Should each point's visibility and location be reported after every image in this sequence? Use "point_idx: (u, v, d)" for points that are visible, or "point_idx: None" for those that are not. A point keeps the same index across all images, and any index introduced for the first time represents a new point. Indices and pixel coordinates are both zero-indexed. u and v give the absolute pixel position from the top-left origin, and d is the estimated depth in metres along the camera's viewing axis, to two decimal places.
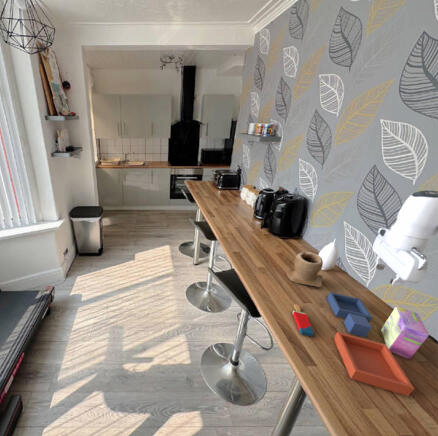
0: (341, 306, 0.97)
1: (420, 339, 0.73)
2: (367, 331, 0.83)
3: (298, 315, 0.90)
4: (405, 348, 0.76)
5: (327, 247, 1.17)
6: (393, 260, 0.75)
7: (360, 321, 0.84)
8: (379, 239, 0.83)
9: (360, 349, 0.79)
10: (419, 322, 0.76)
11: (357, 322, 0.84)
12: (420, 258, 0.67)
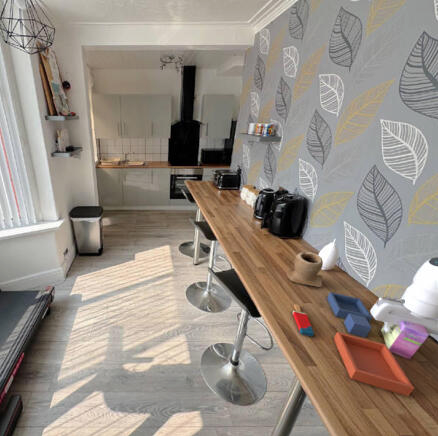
0: (341, 306, 0.97)
1: (420, 339, 0.73)
2: (367, 331, 0.83)
3: (298, 315, 0.90)
4: (405, 348, 0.76)
5: (327, 247, 1.17)
6: None
7: (360, 321, 0.84)
8: None
9: (360, 349, 0.79)
10: None
11: (357, 322, 0.84)
12: None
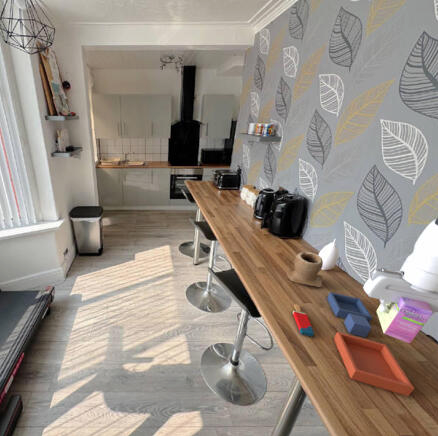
0: (341, 306, 0.97)
1: (422, 318, 0.61)
2: (367, 331, 0.83)
3: (298, 315, 0.90)
4: (405, 330, 0.63)
5: (327, 247, 1.17)
6: None
7: (360, 321, 0.84)
8: None
9: (360, 349, 0.79)
10: None
11: (357, 322, 0.84)
12: None
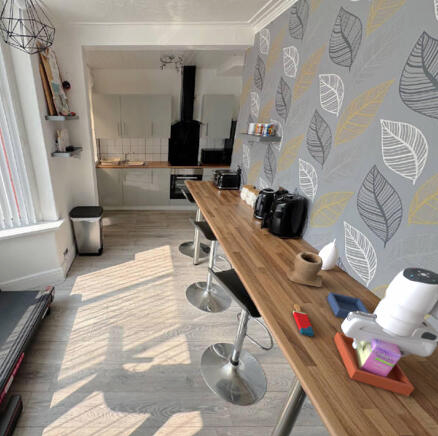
0: (341, 306, 0.97)
1: (392, 360, 0.66)
2: None
3: (298, 315, 0.90)
4: (377, 369, 0.69)
5: (327, 247, 1.17)
6: None
7: None
8: None
9: None
10: None
11: None
12: None
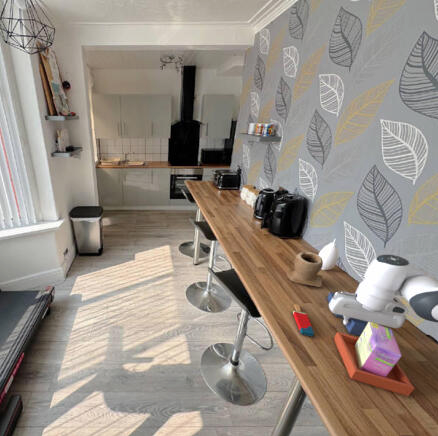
0: None
1: (392, 360, 0.66)
2: None
3: (298, 315, 0.90)
4: (377, 369, 0.69)
5: (327, 247, 1.17)
6: None
7: (360, 321, 0.84)
8: None
9: None
10: (392, 340, 0.69)
11: (357, 322, 0.84)
12: None
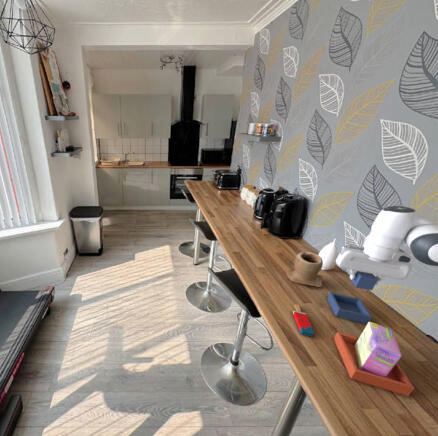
0: (341, 306, 0.97)
1: (392, 360, 0.66)
2: (373, 283, 0.85)
3: (298, 315, 0.90)
4: (377, 369, 0.69)
5: (327, 247, 1.17)
6: None
7: (367, 274, 0.87)
8: None
9: None
10: (392, 340, 0.69)
11: (364, 275, 0.86)
12: None
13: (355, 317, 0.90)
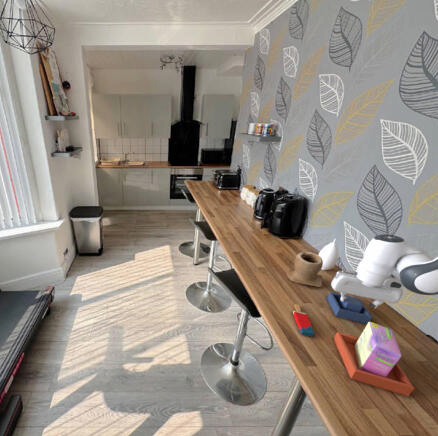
0: None
1: (392, 360, 0.66)
2: (359, 310, 0.91)
3: (298, 315, 0.90)
4: (377, 369, 0.69)
5: (327, 247, 1.17)
6: None
7: (353, 301, 0.93)
8: None
9: None
10: (392, 340, 0.69)
11: (350, 302, 0.92)
12: None
13: (355, 317, 0.90)
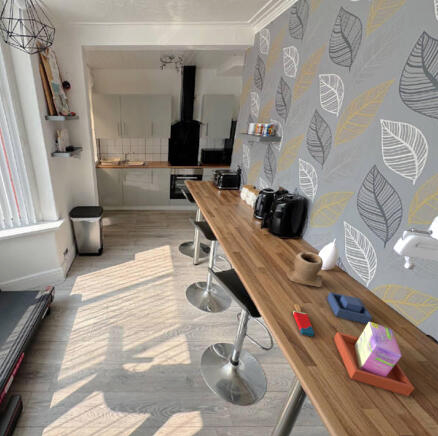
0: None
1: (392, 360, 0.66)
2: (359, 310, 0.91)
3: (298, 315, 0.90)
4: (377, 369, 0.69)
5: (327, 247, 1.17)
6: None
7: (353, 301, 0.93)
8: None
9: None
10: (392, 340, 0.69)
11: (350, 302, 0.92)
12: None
13: (355, 317, 0.90)
